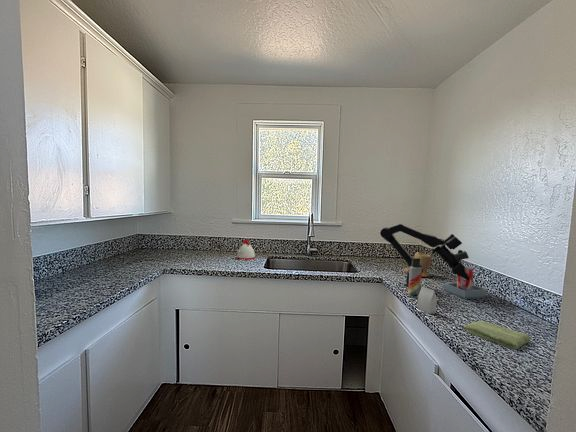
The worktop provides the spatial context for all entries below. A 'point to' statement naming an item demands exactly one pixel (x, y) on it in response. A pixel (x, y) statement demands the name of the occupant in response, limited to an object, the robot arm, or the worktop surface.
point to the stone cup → (425, 261)
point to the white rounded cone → (246, 251)
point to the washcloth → (498, 334)
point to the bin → (470, 294)
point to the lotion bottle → (415, 278)
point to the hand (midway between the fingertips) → (468, 277)
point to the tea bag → (427, 300)
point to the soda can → (465, 280)
